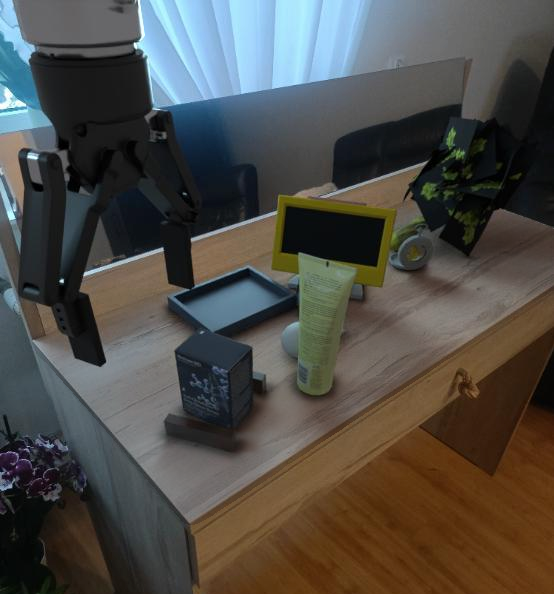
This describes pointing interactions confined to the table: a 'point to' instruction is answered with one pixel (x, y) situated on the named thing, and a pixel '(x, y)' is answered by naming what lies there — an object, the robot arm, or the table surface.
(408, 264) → the pocket watch
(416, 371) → the table surface
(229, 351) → the box
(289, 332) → the figurine
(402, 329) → the table surface
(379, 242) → the toy computer monitor
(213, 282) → the tray
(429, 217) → the potted plant
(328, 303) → the tube
